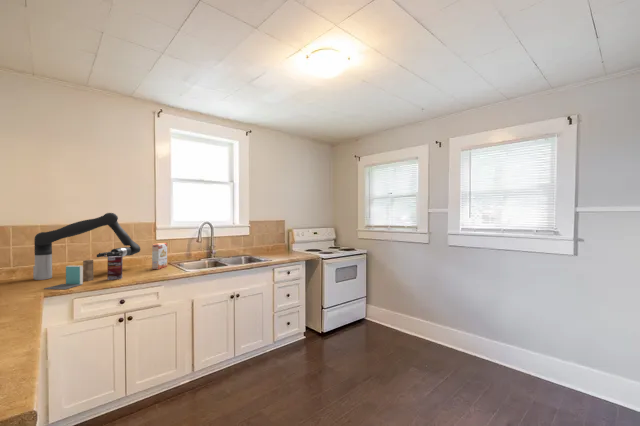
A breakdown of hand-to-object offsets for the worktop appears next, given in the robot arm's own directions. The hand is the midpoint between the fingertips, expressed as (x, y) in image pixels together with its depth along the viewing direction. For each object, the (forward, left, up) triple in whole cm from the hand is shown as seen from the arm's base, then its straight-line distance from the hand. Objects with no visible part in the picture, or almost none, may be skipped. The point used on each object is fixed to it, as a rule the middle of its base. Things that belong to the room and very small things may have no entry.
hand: (102, 255), depth 222 cm
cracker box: (+21, +37, -16) cm, 45 cm away
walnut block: (0, -12, -15) cm, 20 cm away
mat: (0, -31, -15) cm, 34 cm away
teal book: (0, -23, -15) cm, 28 cm away
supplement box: (+15, -6, -15) cm, 22 cm away
